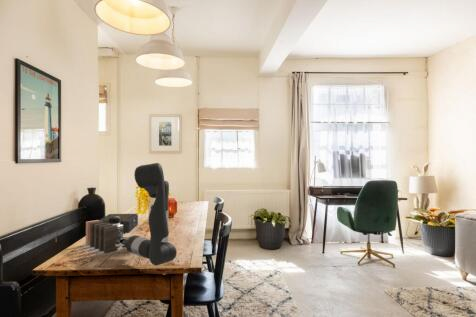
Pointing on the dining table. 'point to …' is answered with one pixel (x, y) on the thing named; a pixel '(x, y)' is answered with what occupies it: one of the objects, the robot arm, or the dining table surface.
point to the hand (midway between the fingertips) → (118, 238)
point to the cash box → (124, 221)
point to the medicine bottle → (117, 222)
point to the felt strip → (98, 250)
